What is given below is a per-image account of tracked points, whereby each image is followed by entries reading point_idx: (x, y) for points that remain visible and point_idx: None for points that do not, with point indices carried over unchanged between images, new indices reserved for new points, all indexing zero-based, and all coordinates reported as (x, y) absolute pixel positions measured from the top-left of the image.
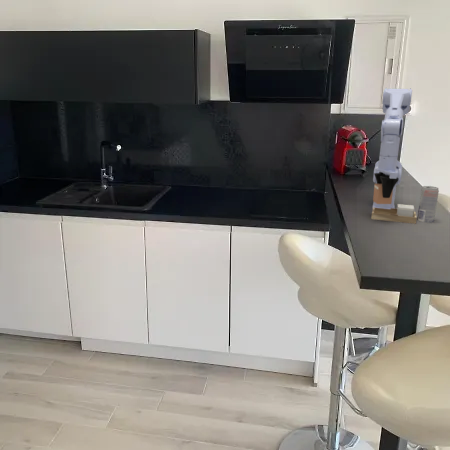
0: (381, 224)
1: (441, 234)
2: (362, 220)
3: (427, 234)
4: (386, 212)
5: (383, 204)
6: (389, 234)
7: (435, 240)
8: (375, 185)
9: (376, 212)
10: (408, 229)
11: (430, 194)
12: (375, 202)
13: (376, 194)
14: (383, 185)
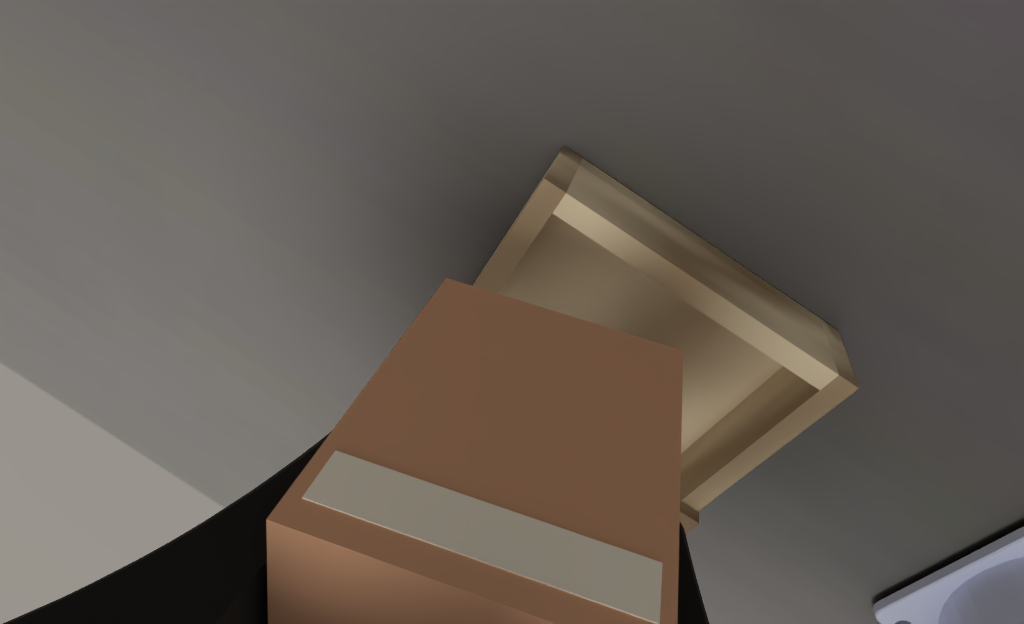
0: (400, 178)
1: (158, 448)
2: (598, 28)
3: (136, 367)
4: (706, 449)
5: (1007, 612)
6: (48, 43)
7: (5, 322)
8: (577, 594)
9: (789, 371)
10: (247, 323)
11: None
12: (533, 305)
13: (479, 393)
14: (113, 576)
